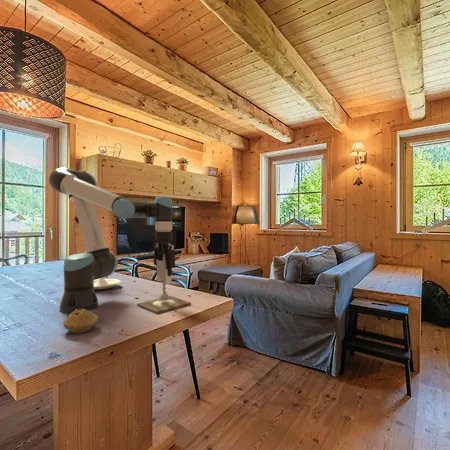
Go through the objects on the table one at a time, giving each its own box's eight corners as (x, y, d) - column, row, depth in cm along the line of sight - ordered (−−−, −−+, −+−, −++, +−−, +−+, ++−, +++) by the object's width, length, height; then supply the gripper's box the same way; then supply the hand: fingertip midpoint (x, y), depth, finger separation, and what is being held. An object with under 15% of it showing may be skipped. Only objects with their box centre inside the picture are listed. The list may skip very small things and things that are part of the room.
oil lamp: (89, 320, 112) (89, 299, 112) (103, 331, 101) (103, 308, 101) (57, 327, 105) (57, 305, 105) (68, 340, 94) (68, 315, 94)
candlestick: (68, 289, 161) (67, 238, 160) (112, 282, 178) (111, 237, 177) (80, 296, 146) (79, 241, 145) (127, 288, 163) (126, 238, 162)
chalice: (156, 301, 127) (155, 260, 126) (155, 297, 133) (155, 258, 133) (173, 300, 129) (172, 260, 128) (171, 296, 135) (171, 258, 135)
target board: (157, 314, 119) (157, 311, 119) (137, 305, 130) (137, 303, 130) (190, 304, 132) (190, 302, 132) (170, 297, 143) (170, 295, 143)
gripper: (183, 231, 126) (183, 283, 127) (159, 230, 140) (159, 277, 140) (169, 232, 121) (169, 286, 122) (145, 230, 134) (145, 280, 135)
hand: (164, 281), depth 131 cm, fingers closed on chalice, 6 cm apart
